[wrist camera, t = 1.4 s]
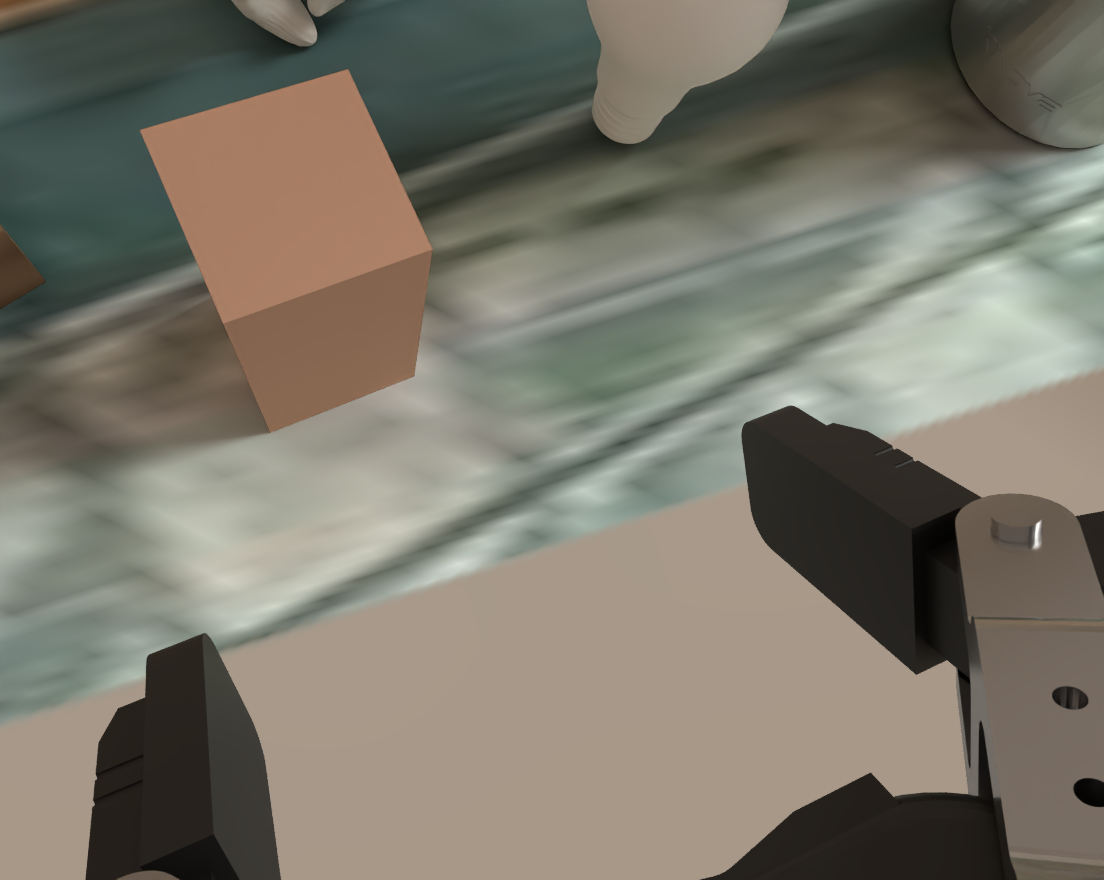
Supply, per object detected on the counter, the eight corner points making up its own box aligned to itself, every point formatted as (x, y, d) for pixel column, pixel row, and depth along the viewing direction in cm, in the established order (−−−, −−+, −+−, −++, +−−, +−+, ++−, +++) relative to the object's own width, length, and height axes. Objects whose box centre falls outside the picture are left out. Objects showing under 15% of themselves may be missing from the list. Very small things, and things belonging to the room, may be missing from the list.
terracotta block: (355, 247, 32) (347, 69, 22) (413, 376, 31) (432, 249, 22) (212, 296, 31) (139, 130, 21) (270, 432, 30) (223, 323, 20)
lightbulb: (506, 100, 34) (566, -149, 24) (630, 28, 36) (736, -234, 26) (607, 229, 34) (713, 32, 23) (727, 149, 36) (876, -67, 25)
